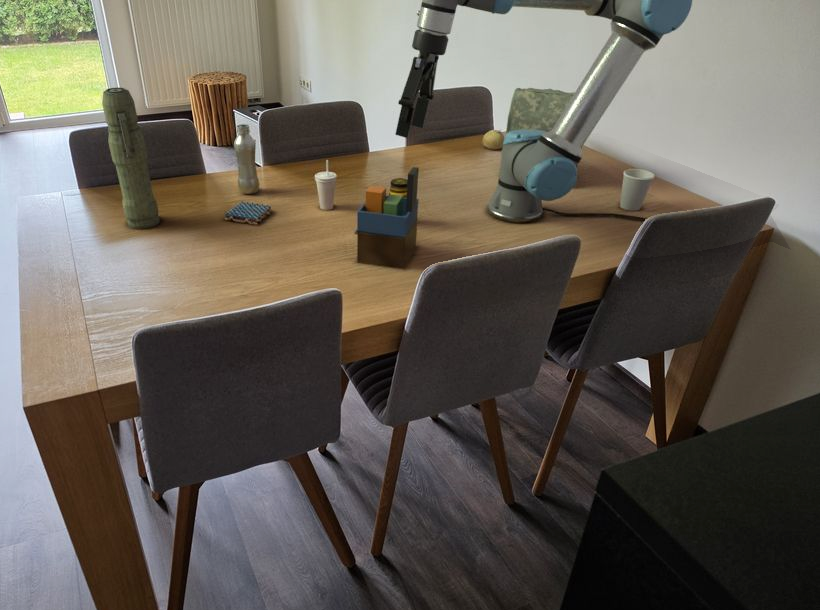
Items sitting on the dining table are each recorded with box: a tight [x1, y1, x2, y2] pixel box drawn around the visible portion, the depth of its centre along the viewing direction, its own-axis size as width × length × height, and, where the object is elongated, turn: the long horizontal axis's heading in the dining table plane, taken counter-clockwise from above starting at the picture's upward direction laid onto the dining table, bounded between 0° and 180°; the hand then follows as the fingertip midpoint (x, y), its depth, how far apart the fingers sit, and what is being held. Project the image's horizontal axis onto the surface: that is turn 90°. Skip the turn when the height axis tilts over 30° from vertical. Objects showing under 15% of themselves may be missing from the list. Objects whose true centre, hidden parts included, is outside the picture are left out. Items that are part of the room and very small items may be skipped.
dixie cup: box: [619, 168, 656, 212], centre depth 177 cm, size 8×8×10 cm
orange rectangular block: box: [365, 185, 387, 214], centre depth 148 cm, size 4×4×8 cm
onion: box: [482, 128, 505, 151], centre depth 224 cm, size 8×8×7 cm
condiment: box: [388, 177, 408, 198], centre depth 168 cm, size 7×8×12 cm
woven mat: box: [224, 200, 273, 226], centre depth 174 cm, size 10×11×2 cm
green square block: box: [384, 194, 403, 216], centre depth 148 cm, size 3×6×6 cm, turn 162°
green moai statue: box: [101, 87, 161, 230], centre depth 161 cm, size 9×12×35 cm
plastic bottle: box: [233, 123, 260, 195], centre depth 184 cm, size 6×7×20 cm
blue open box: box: [356, 166, 420, 237], centre depth 146 cm, size 12×12×14 cm
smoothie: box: [314, 159, 338, 211], centre depth 176 cm, size 6×6×14 cm
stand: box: [353, 217, 419, 270], centre depth 152 cm, size 12×14×8 cm
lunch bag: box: [505, 87, 579, 169], centre depth 194 cm, size 22×16×27 cm
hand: (409, 131), depth 144 cm, fingers open, 13 cm apart
